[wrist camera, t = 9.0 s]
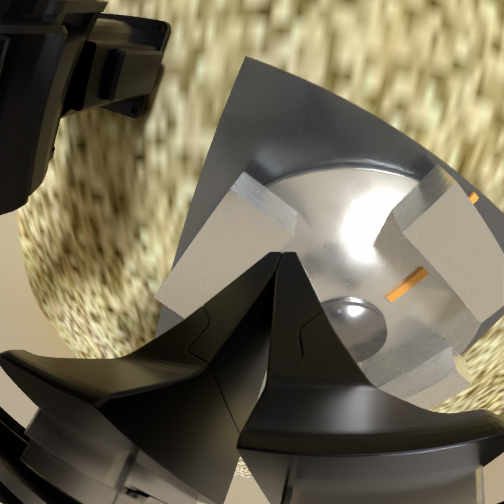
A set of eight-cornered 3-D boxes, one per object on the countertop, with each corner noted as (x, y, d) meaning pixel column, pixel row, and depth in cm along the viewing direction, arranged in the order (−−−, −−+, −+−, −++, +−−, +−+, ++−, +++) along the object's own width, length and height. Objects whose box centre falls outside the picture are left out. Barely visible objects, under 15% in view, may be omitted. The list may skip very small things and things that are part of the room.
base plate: (159, 330, 28) (152, 342, 27) (252, 58, 14) (245, 56, 12) (368, 408, 29) (368, 421, 28) (539, 251, 15) (548, 263, 14)
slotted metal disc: (334, 418, 29) (331, 446, 26) (144, 312, 24) (126, 341, 22) (525, 305, 16) (541, 336, 13) (331, 63, 12) (335, 59, 9)
